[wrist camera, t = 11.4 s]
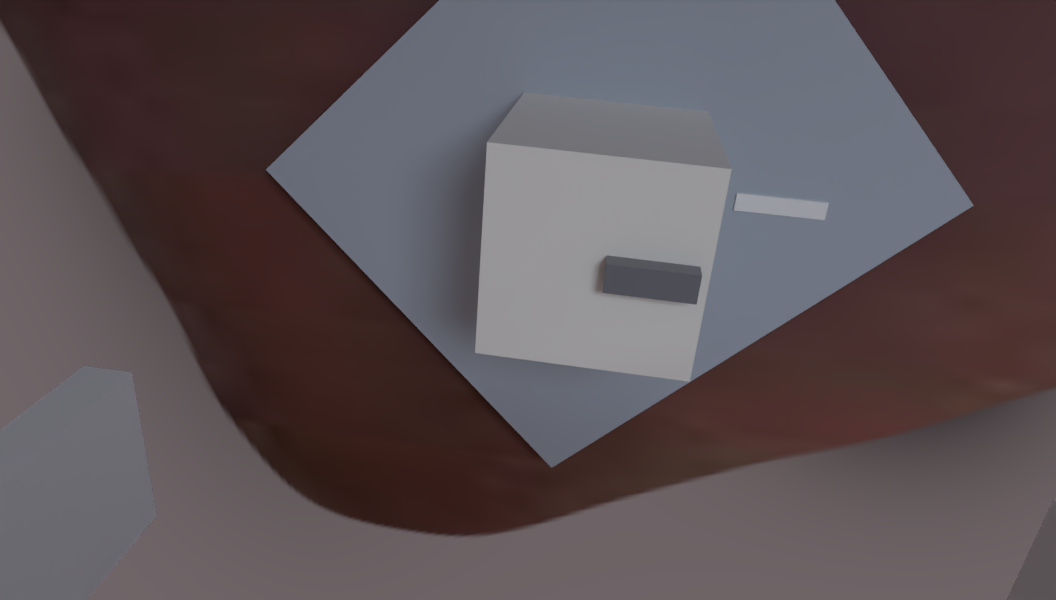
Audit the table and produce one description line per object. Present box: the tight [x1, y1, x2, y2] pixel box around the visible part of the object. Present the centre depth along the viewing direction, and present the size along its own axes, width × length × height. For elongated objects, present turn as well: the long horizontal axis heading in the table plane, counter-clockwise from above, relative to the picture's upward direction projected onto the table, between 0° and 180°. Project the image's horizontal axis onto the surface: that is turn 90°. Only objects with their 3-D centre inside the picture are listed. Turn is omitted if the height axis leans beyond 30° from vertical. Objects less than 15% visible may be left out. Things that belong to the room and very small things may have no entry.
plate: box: [266, 0, 974, 468], centre depth 25 cm, size 16×18×7 cm
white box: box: [475, 92, 732, 382], centre depth 23 cm, size 6×6×8 cm
